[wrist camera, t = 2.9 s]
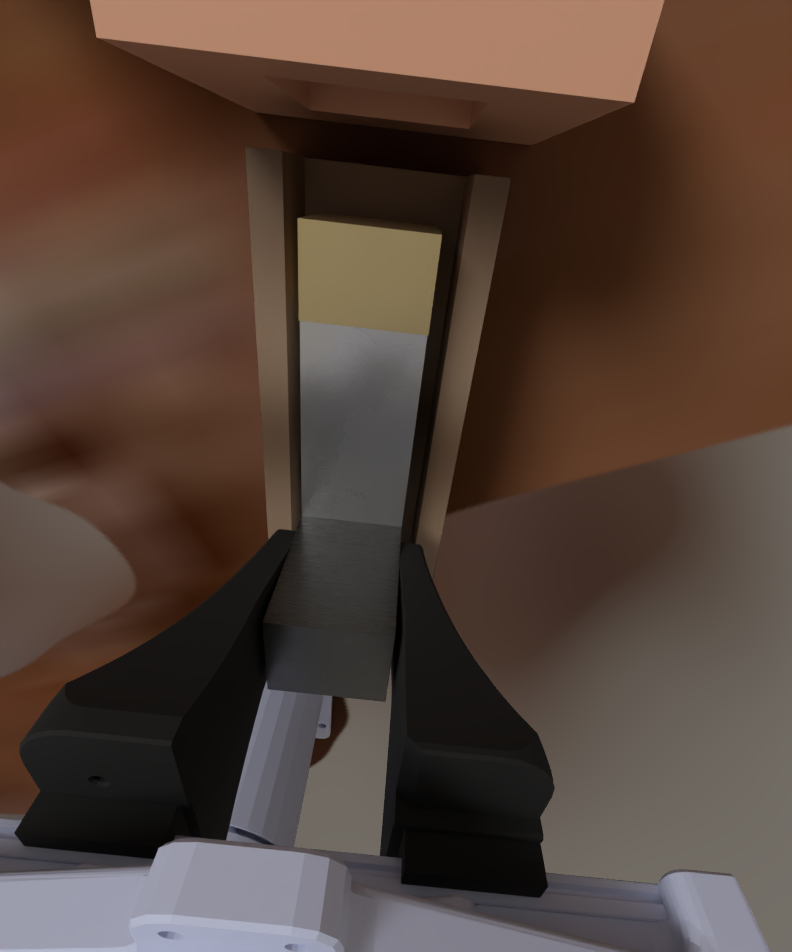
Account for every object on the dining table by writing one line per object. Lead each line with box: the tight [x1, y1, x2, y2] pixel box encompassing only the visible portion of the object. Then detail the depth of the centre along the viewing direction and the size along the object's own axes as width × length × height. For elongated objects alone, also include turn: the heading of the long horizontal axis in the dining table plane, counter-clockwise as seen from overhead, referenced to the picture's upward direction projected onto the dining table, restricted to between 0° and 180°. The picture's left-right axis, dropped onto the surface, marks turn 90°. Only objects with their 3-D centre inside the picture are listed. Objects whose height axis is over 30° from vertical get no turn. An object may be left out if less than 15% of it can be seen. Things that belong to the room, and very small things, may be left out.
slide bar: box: [262, 212, 442, 701], centre depth 13 cm, size 14×3×7 cm, turn 174°
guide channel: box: [245, 147, 511, 580], centre depth 16 cm, size 15×6×4 cm, turn 174°
